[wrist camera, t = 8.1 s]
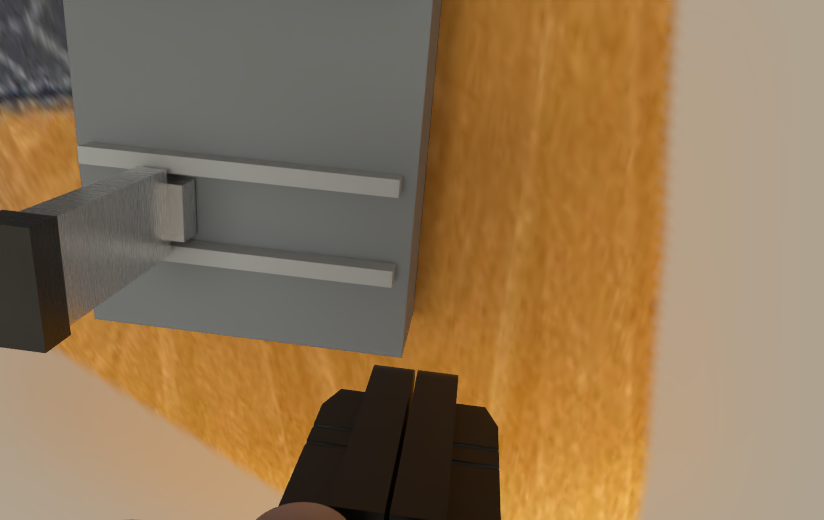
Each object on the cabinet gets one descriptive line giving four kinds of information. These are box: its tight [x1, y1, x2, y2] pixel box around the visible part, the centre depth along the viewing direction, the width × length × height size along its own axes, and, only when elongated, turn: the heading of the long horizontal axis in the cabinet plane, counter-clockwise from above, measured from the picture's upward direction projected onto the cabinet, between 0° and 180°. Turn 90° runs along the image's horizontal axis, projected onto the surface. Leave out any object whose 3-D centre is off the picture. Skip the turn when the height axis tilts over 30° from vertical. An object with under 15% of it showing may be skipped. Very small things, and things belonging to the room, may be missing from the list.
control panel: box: [63, 0, 442, 358], centre depth 22 cm, size 20×12×5 cm, turn 175°
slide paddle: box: [0, 166, 197, 353], centre depth 19 cm, size 3×2×8 cm, turn 175°
